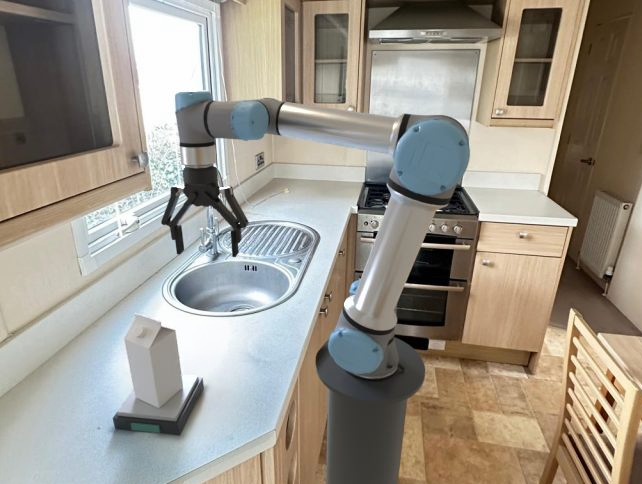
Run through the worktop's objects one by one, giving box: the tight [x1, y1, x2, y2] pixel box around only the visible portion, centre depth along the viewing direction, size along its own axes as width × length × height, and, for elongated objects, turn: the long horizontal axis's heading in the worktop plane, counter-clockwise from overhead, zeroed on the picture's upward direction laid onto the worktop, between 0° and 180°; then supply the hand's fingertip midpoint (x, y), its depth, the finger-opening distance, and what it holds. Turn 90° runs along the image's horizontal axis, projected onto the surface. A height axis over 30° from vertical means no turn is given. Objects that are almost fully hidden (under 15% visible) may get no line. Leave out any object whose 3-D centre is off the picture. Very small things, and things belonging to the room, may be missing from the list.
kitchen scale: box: [112, 374, 205, 437], centre depth 89 cm, size 14×14×4 cm
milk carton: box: [123, 312, 183, 408], centre depth 85 cm, size 7×7×19 cm
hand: (207, 253), depth 97 cm, fingers open, 13 cm apart
